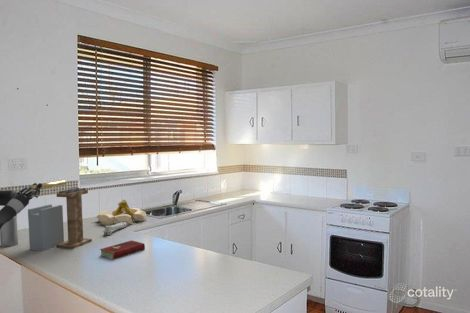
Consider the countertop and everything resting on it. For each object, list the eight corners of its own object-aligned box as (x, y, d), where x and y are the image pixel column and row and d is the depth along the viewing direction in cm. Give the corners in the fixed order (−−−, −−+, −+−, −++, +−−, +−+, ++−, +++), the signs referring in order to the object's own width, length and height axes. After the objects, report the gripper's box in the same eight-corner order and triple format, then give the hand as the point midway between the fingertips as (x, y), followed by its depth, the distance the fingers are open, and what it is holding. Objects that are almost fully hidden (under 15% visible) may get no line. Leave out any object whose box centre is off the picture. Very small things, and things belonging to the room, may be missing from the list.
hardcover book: (145, 250, 219) (144, 243, 219) (113, 260, 202) (112, 252, 202) (131, 246, 226) (131, 239, 226) (100, 256, 210) (99, 248, 209)
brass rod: (33, 191, 208) (33, 185, 208) (29, 190, 209) (29, 185, 209) (65, 185, 231) (65, 180, 231) (61, 184, 232) (61, 179, 232)
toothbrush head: (128, 221, 274) (109, 225, 249) (127, 231, 273) (108, 235, 249) (121, 221, 275) (101, 224, 250) (121, 230, 274) (101, 235, 250)
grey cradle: (43, 250, 219) (41, 210, 218) (29, 249, 223) (27, 209, 221) (64, 243, 234) (62, 205, 233) (51, 242, 238) (49, 204, 236)
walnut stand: (73, 248, 222) (70, 191, 221) (56, 247, 226) (54, 191, 224) (91, 241, 238) (89, 188, 236) (76, 239, 241) (73, 187, 240)
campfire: (119, 228, 270) (118, 204, 269) (88, 223, 287) (87, 201, 286) (154, 219, 299) (153, 197, 298) (123, 214, 317) (123, 194, 316)
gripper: (24, 199, 195) (45, 179, 209) (2, 198, 200) (25, 178, 213) (30, 210, 199) (51, 190, 213) (9, 209, 204) (31, 189, 217)
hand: (38, 184), depth 213 cm, fingers closed on brass rod, 3 cm apart
